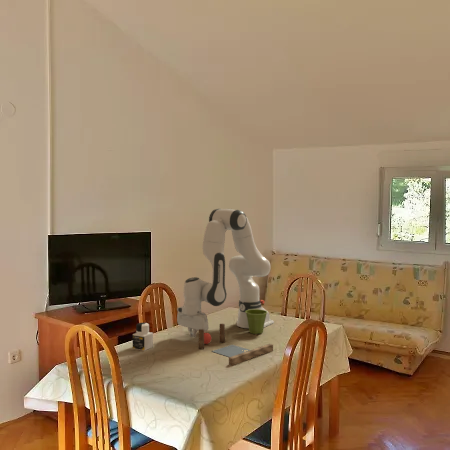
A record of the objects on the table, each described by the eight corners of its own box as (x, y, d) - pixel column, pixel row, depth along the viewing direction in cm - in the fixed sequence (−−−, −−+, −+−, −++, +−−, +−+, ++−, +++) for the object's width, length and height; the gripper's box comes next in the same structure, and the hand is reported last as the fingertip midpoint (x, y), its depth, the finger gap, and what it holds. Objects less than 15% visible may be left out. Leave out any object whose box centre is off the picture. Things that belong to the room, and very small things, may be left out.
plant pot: (268, 335, 262) (268, 314, 261) (245, 335, 262) (245, 314, 261) (266, 329, 274) (266, 309, 273) (245, 329, 274) (245, 309, 273)
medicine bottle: (132, 348, 241) (131, 324, 240) (141, 344, 247) (141, 320, 246) (144, 351, 237) (144, 326, 236) (153, 346, 244) (153, 322, 243)
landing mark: (232, 345, 246) (232, 344, 246) (253, 351, 236) (253, 350, 236) (211, 351, 236) (211, 351, 236) (233, 358, 226) (233, 358, 226)
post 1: (201, 347, 243) (201, 328, 242) (205, 348, 241) (205, 329, 240) (197, 348, 241) (197, 330, 240) (201, 349, 239) (201, 331, 238)
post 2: (222, 340, 253) (222, 323, 252) (225, 342, 251) (225, 324, 250) (218, 342, 251) (218, 324, 250) (222, 343, 249) (222, 325, 249)
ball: (215, 339, 246) (209, 345, 250) (210, 330, 249) (205, 336, 253) (206, 340, 243) (200, 346, 246) (201, 330, 246) (196, 336, 249)
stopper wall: (269, 349, 238) (269, 343, 238) (273, 350, 237) (273, 344, 237) (228, 364, 218) (228, 357, 218) (232, 365, 217) (232, 358, 217)
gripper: (211, 312, 249) (211, 339, 250) (184, 305, 263) (184, 331, 264) (201, 314, 244) (202, 342, 245) (175, 307, 259) (175, 334, 260)
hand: (192, 336), depth 255 cm, fingers closed
